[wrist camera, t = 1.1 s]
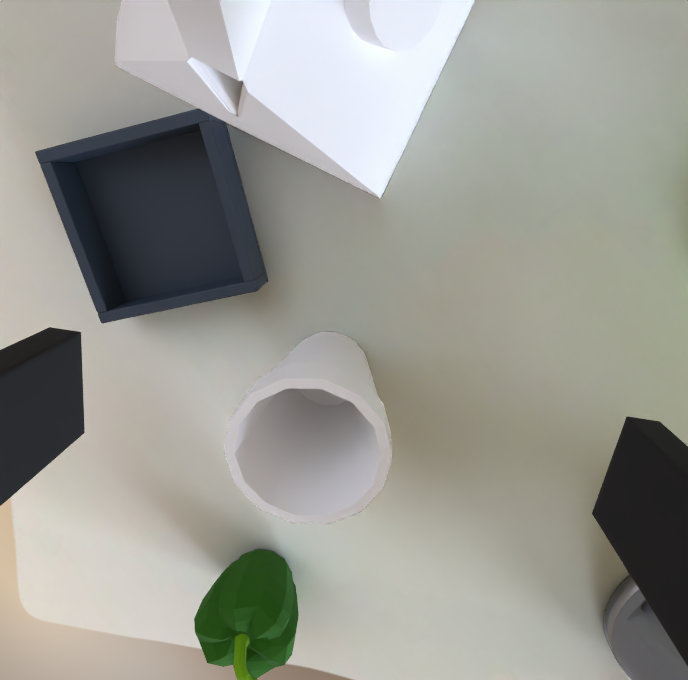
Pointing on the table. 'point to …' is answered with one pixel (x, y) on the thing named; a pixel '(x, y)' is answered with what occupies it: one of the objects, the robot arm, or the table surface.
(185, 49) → the milk
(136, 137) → the tray
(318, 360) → the foam cup
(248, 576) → the bell pepper
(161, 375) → the table surface
